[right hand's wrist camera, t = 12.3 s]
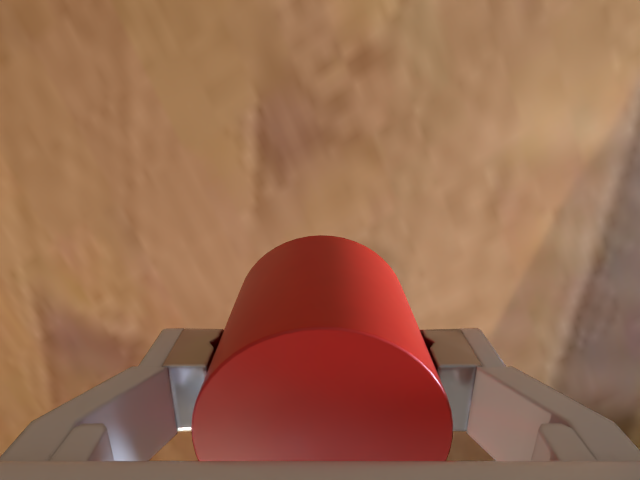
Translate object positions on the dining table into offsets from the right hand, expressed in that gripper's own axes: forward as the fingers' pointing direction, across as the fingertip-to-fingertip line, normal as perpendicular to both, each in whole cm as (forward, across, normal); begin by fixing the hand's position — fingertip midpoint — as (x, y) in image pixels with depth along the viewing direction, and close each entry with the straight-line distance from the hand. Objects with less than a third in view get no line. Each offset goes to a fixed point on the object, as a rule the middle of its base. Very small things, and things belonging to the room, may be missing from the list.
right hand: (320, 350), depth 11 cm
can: (+2, 0, 0) cm, 2 cm away
